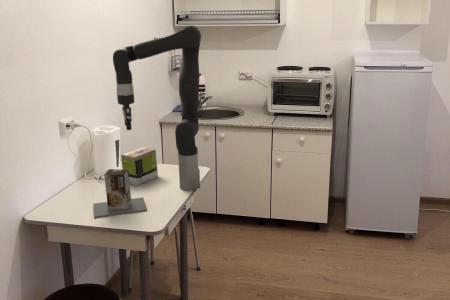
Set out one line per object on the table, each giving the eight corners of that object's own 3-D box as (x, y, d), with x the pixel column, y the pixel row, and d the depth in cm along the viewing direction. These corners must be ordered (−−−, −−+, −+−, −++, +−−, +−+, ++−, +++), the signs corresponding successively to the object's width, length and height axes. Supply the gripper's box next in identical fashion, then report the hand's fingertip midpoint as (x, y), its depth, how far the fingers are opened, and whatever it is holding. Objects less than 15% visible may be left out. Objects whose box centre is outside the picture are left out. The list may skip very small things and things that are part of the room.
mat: (143, 198, 221) (143, 197, 221) (147, 211, 208) (147, 209, 208) (93, 205, 215) (93, 203, 215) (94, 218, 202) (94, 216, 202)
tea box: (144, 173, 254) (142, 146, 250) (158, 176, 248) (156, 149, 244) (122, 181, 242) (120, 153, 238) (137, 185, 237) (134, 157, 232)
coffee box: (132, 203, 214) (129, 169, 209) (127, 209, 208) (124, 174, 203) (112, 203, 215) (108, 168, 210) (107, 209, 209) (103, 173, 204)
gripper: (115, 90, 226) (118, 124, 230) (118, 96, 213) (121, 132, 217) (132, 89, 228) (134, 123, 232) (135, 95, 214) (138, 130, 219)
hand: (128, 127), depth 225 cm, fingers open, 8 cm apart
